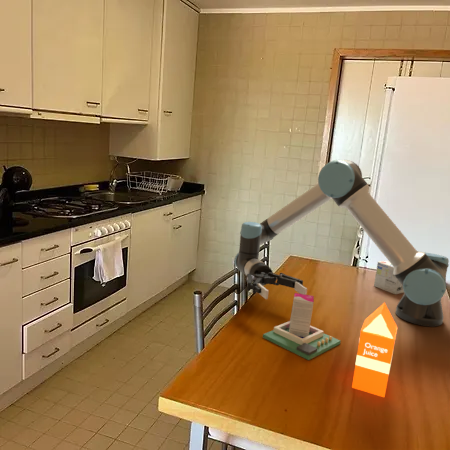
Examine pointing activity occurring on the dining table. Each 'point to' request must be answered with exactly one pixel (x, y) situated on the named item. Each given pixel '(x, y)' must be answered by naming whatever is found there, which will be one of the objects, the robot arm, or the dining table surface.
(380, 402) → the dining table surface
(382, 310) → the orange juice
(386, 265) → the light bulb box
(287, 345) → the socket board
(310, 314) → the supplement box
